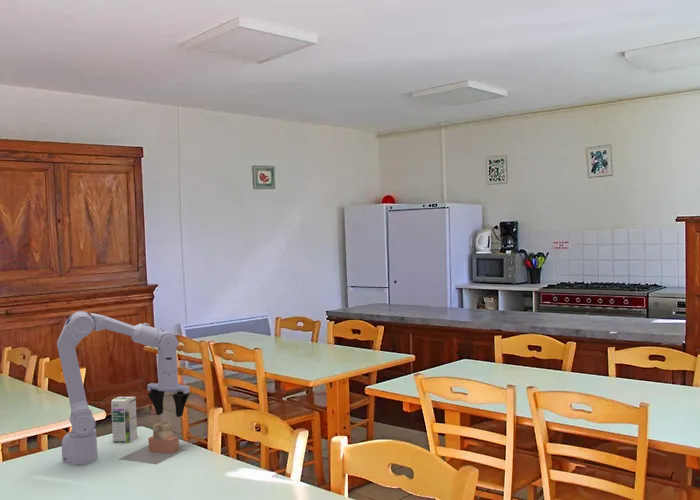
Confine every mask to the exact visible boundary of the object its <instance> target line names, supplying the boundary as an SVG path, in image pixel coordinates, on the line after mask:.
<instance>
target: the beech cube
mask: <svg viewBox="0 0 700 500" xmlns="http://www.w3.org/2000/svg"><path fill="white" fill-rule="evenodd" d="M173 433H174V430H173V422H171V421H170V422H168V421H160V422H157V423H155V424H153V425H152V436H153V439H161V440H165V439H167V438H169V437H172V436H174V434H173Z"/></svg>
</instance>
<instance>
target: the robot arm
mask: <svg viewBox="0 0 700 500" xmlns="http://www.w3.org/2000/svg"><path fill="white" fill-rule="evenodd" d="M93 330H94V331H95V332H99V331H103V330H108V331H112V332H114V333H118V334H123V335H126V336H130V337H131V340H132V341H133V342H134V343H136V344H139V345H140V344H141V345H144V346H147V347H151V348H157V377H158V380H157V381H158V382H157V383H148V384H147V391H148V393H147V396H148V398H149V399H150V401H151V402H152V404H153V407H154V410H155V413H156V415H157V416H160V415H162V414H163V413H164V397H165V392H166V393H167V392H169V393H174V394H172V398H173V402H174V407H175V414H176V418H180V417H182V416H183V415H184V411H185V406H186V403H187V400H188V398H189V396H190V393H191V390H190V388H191V387H190V385H184V384H181V383H179V380H178V379H179V377H178V375H179V374H178V355H177V349H178V346H179V341H178V338H177V336H176V335H175V334H174V333H172V332H170V331H168V330H165V329H164V328H162V327H161V328H156V327H153V326H150V324H149V323H147V322H144V323H138V324H136V325H132V324H130V323H128V322H127V323H126V322H124V321H121V320H117V319H116V318H115V319H114V318H112V317H109V316H106V315H102V314H98V313H94V312H93V313H92V312H89V313H88V312H86V311H83V310H78V311H75V312H73V313H72V314H71V315H70V316H69V317H68V318H67V319H66V321H65V323H64V325H63V327H62V330H61V333H60V335H59V337H58V339H57V342H56V346H57V352H58V355H59V360H60V365H61V369H62V373H63V378H64V382H65V388H66V391H67V396H68V400H69V406H70V409H71V410H70V416H69V422H70V424H71V431H69V432H67V433H66V434H65V435H64V436H63V437H62V440H61V456H62V457H61V461H62V463H66V464H72V465H75V466H81V465H88V464H89V465H90V464H92V463H94V462H96V461H97V460H98V443H97V442H98V441H97V440H98V439H97V429H96V425H97V424H96V420H95V417H94V416H93V413H92V410H91V409H89V403H88V401H87V396H86V392H85V387H84V382H83V377H82V373H81V369H80V363H79V360H78V355H77V351H76V347H77V346H78V344H79V343H80V342H81V341H82V339H85V337H87V336H89V335H90V334H91V333H92V332H93Z"/></svg>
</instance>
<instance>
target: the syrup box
mask: <svg viewBox="0 0 700 500" xmlns="http://www.w3.org/2000/svg"><path fill="white" fill-rule="evenodd" d="M136 401H137V398H136V396H117V397H115V398H113V399H112V400H111V402H110V408H111V421H112V422H111V425H112V426H111V427H112V443H113V444H130V443H132V442H133V441H135V440H136V439H137V438H138V428H137V427H138V426H137V425H138V424H137V422H138V421H137V402H136Z"/></svg>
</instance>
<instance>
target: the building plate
mask: <svg viewBox="0 0 700 500" xmlns="http://www.w3.org/2000/svg"><path fill="white" fill-rule="evenodd" d="M186 450H187V448H186V447H185V448H184V447H179V450H177V451H175V452H173V453H171V454H168V453H160V452H152V451H149V444H148V445H146V446H144V447H142V448H141V447H140V449H137V450H134V451H133V452H130V453H129V454H126V455H124V456H122V457H120V458H119V460H120V461H122V460H123V461H130V462H135V463H145V464H150V465H159V464H160V463H162V462H164V461H167V460H168V459H170V458H172V457H175V456H177V455H178V454H180V453H182V452H185V451H186Z"/></svg>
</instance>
